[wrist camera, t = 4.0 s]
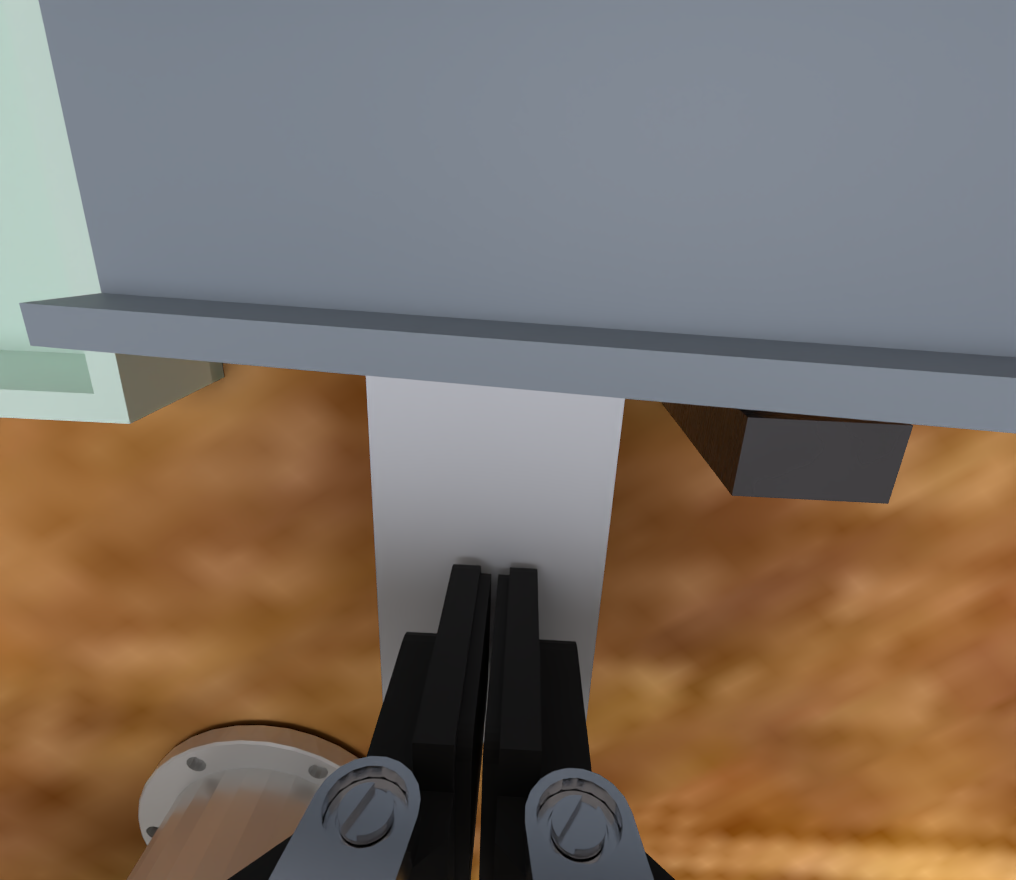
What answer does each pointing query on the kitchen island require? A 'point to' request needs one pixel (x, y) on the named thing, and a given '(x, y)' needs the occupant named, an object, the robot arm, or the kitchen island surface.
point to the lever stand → (796, 452)
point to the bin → (57, 255)
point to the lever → (548, 235)
